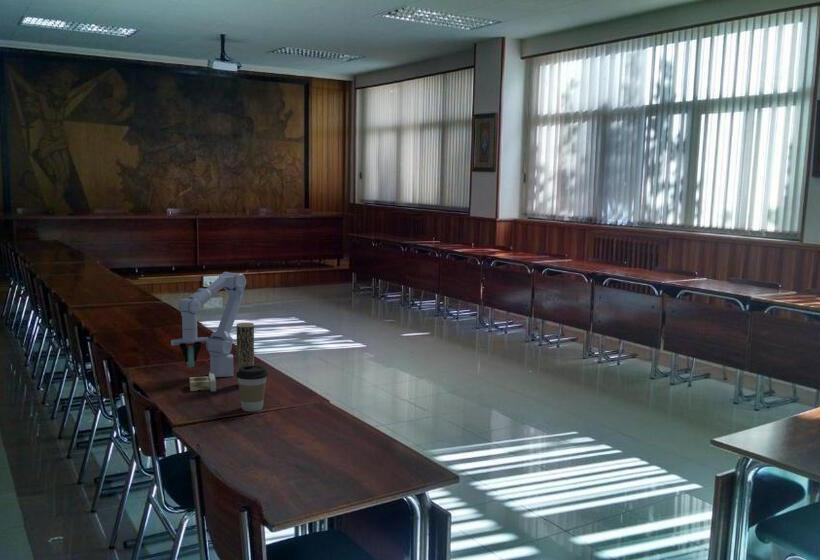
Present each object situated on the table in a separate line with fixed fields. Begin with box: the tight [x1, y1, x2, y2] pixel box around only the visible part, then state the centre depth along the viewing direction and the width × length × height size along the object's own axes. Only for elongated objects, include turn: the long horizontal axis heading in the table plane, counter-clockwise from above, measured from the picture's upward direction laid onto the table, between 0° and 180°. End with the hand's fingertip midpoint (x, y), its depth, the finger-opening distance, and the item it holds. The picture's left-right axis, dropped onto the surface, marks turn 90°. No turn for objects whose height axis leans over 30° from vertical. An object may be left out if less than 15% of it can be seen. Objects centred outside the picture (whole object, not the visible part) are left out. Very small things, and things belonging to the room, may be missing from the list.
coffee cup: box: [235, 364, 269, 413], centre depth 269 cm, size 11×11×15 cm
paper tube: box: [236, 322, 255, 387], centre depth 299 cm, size 7×7×25 cm
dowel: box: [186, 345, 195, 368], centre depth 300 cm, size 3×3×8 cm
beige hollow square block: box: [189, 375, 211, 392], centre depth 295 cm, size 8×8×4 cm
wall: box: [208, 373, 217, 392], centre depth 296 cm, size 2×12×4 cm, turn 18°
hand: (190, 361), depth 300 cm, fingers closed on dowel, 3 cm apart
